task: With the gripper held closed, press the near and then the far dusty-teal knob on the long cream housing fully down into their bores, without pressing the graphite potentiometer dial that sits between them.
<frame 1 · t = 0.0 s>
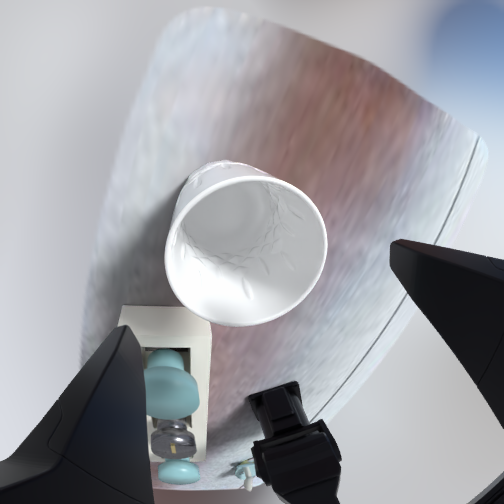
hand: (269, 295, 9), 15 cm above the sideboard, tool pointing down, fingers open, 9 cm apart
white cup: (222, 201, 23), on the sideboard
pacifier: (250, 461, 44), on the sideboard
knob housing: (170, 391, 30), on the sideboard
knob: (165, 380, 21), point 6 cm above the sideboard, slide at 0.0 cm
pot dial: (172, 433, 25), point 6 cm above the sideboard, slide at 0.0 cm
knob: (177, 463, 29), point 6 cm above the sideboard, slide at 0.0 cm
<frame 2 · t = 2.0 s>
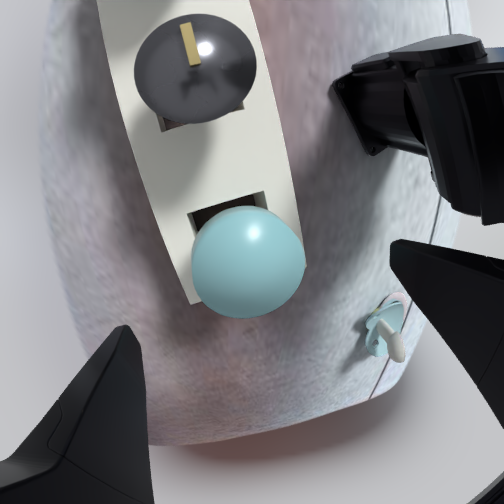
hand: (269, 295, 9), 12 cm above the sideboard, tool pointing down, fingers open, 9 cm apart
pacifier: (382, 315, 29), on the sideboard
knob housing: (191, 89, 16), on the sideboard
pot dial: (193, 74, 11), point 6 cm above the sideboard, slide at 0.0 cm
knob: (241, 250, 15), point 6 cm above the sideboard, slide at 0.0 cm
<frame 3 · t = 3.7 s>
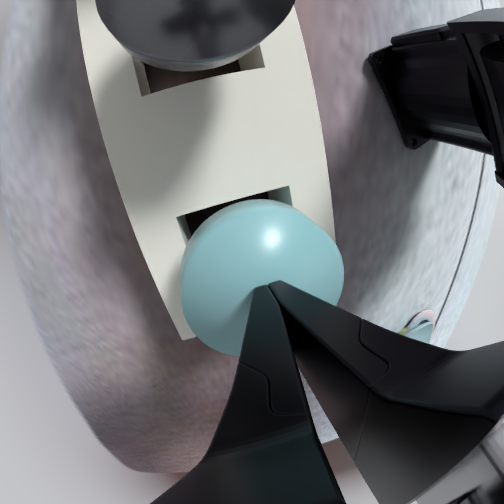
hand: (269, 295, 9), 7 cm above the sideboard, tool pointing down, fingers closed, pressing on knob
pacifier: (407, 335, 24), on the sideboard
knob housing: (188, 50, 11), on the sideboard
pot dial: (193, 5, 6), point 6 cm above the sideboard, slide at 0.0 cm
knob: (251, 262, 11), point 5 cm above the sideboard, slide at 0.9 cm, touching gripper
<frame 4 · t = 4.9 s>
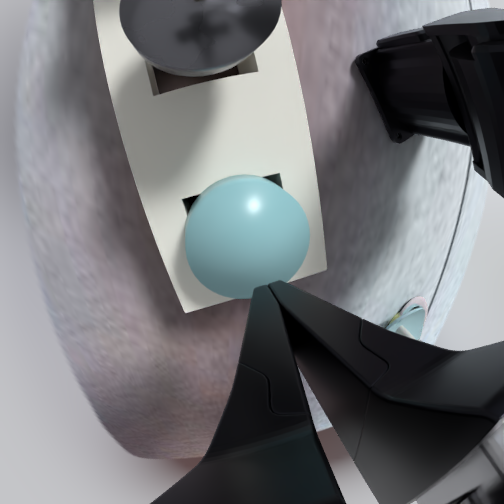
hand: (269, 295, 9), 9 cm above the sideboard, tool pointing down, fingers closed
pacifier: (401, 321, 26), on the sideboard
knob housing: (192, 55, 13), on the sideboard
pot dial: (197, 20, 7), point 6 cm above the sideboard, slide at 0.0 cm
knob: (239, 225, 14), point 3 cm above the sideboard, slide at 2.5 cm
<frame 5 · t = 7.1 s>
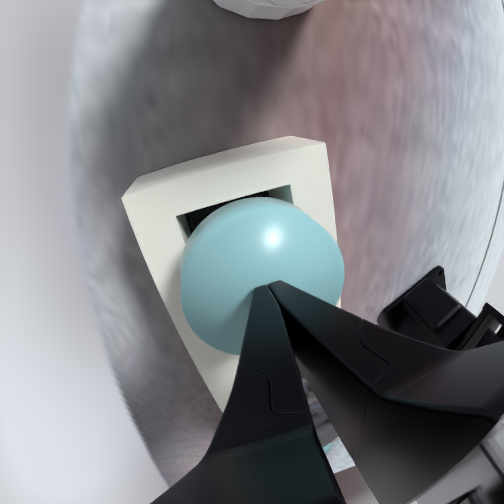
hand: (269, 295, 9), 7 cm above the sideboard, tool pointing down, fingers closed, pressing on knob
knob housing: (263, 340, 19), on the sideboard
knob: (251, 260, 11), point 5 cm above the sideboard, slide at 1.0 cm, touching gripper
pot dial: (290, 409, 14), point 6 cm above the sideboard, slide at 0.0 cm
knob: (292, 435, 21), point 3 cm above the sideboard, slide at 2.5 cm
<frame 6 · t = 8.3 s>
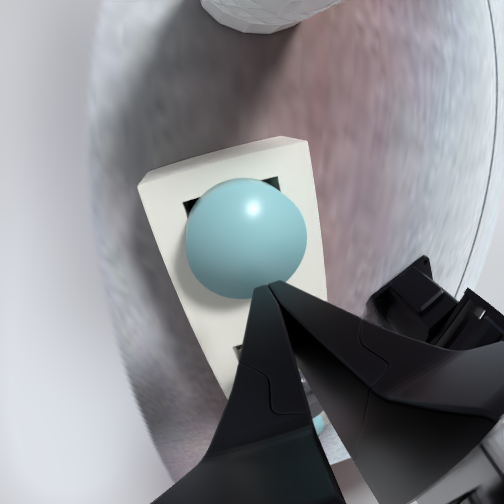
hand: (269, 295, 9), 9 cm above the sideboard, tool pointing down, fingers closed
knob housing: (259, 321, 21), on the sideboard
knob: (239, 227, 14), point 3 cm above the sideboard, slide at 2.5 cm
pot dial: (282, 381, 16), point 6 cm above the sideboard, slide at 0.0 cm
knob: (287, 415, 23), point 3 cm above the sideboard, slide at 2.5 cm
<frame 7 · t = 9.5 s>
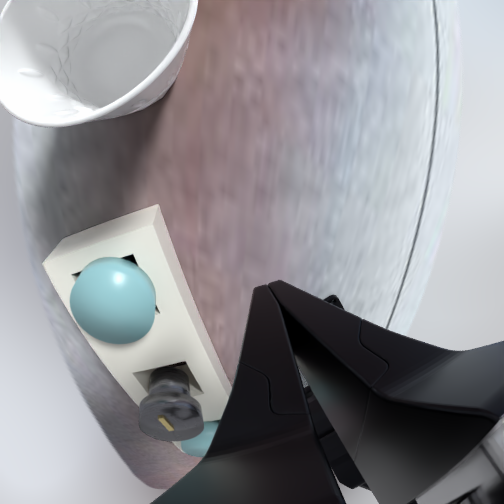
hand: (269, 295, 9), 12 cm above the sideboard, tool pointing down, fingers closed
white cup: (129, 65, 14), on the sideboard
knob housing: (168, 350, 24), on the sideboard
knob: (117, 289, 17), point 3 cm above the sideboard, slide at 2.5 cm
pot dial: (170, 403, 19), point 6 cm above the sideboard, slide at 0.0 cm
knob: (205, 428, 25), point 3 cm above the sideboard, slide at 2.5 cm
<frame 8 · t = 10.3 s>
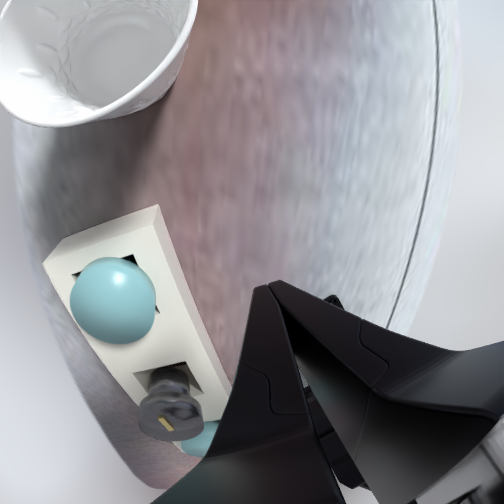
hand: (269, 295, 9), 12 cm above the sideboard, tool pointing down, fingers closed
white cup: (129, 65, 14), on the sideboard
knob housing: (168, 350, 24), on the sideboard
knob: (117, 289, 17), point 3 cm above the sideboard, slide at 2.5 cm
pot dial: (170, 403, 19), point 6 cm above the sideboard, slide at 0.0 cm
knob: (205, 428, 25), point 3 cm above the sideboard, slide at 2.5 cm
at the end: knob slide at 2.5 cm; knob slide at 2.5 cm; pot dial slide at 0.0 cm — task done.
